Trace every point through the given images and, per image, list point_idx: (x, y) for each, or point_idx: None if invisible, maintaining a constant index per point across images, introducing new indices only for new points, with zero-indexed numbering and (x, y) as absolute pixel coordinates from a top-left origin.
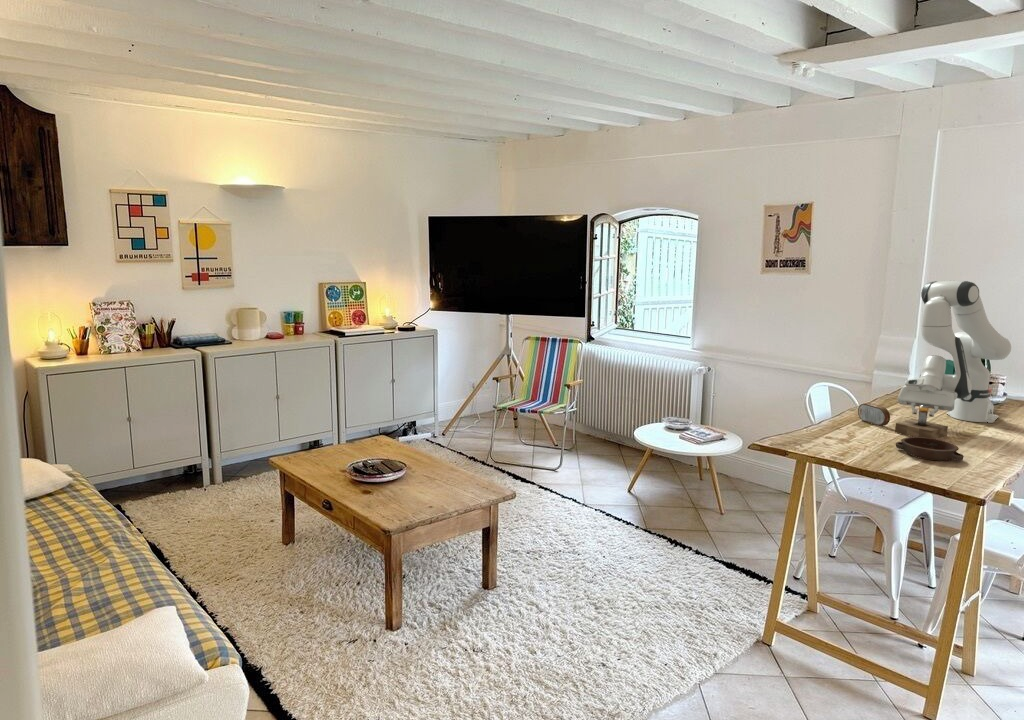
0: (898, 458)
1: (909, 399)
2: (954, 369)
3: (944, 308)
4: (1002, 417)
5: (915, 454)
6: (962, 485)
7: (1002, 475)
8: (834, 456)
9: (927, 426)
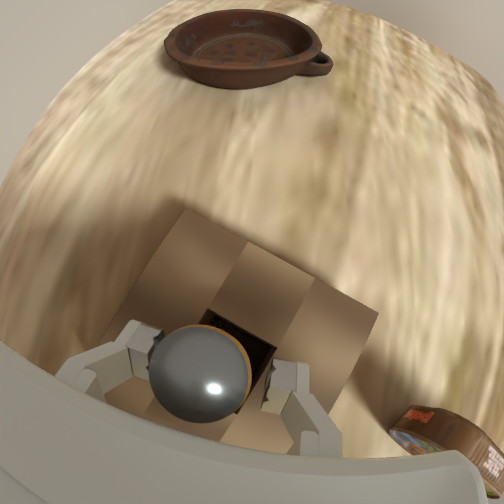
0: None
1: (382, 472)
2: None
3: None
4: None
5: (277, 35)
6: None
7: (125, 33)
8: (408, 38)
9: (190, 324)
